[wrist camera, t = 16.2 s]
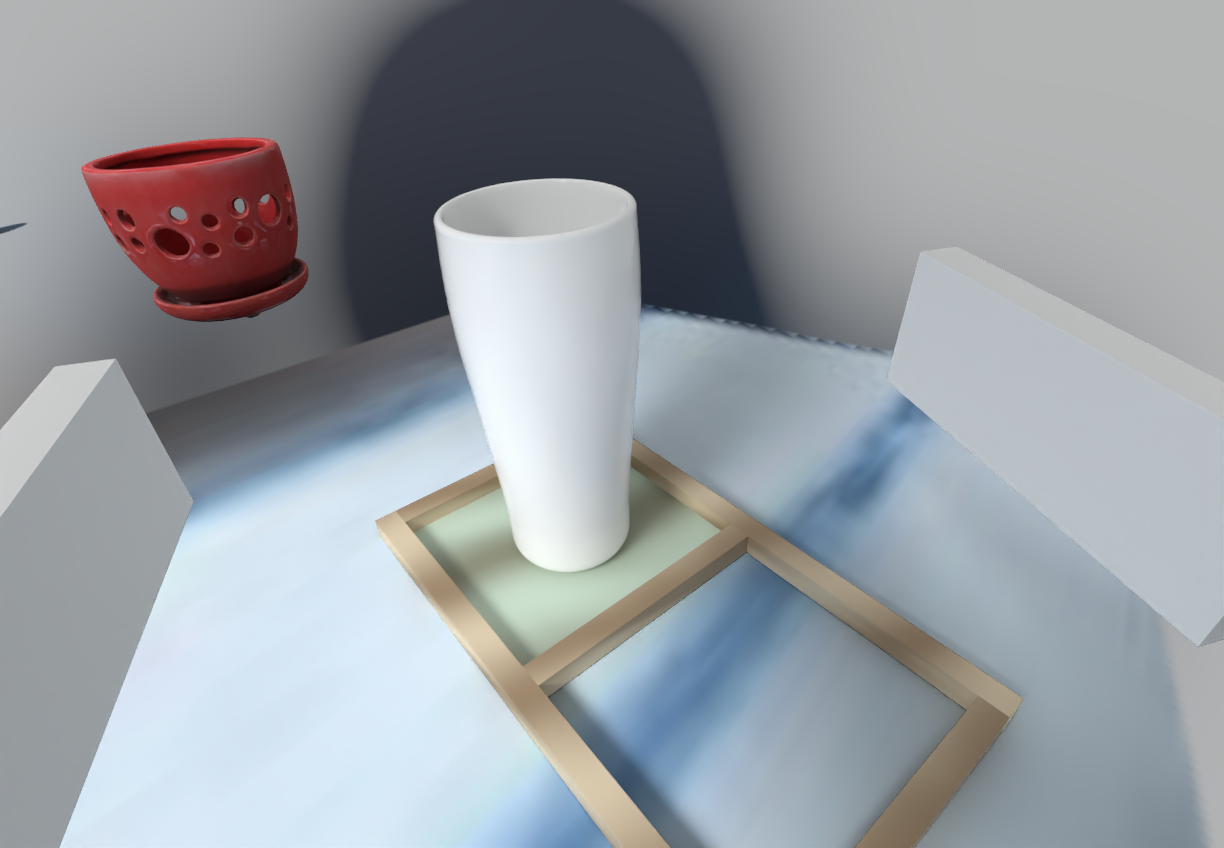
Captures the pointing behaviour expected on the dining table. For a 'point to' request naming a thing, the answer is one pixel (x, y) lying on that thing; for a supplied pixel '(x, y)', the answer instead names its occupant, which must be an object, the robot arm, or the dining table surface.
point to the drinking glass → (550, 354)
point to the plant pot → (204, 224)
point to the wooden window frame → (632, 598)
